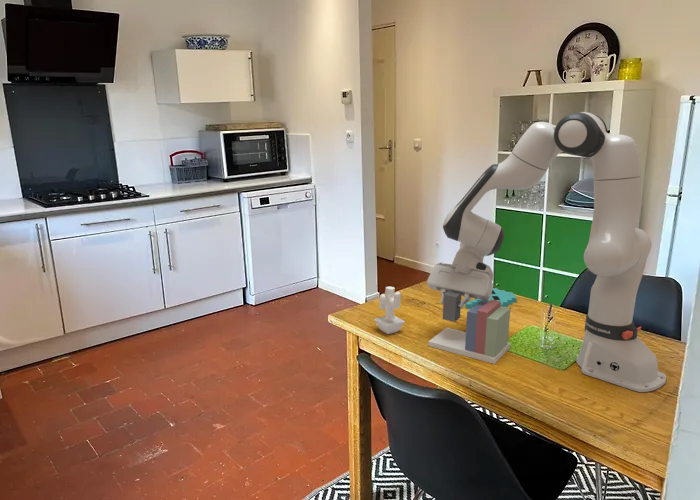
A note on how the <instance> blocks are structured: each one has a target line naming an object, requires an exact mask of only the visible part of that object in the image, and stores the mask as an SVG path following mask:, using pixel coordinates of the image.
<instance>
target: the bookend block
mask: <svg viewBox="0 0 700 500" xmlns="http://www.w3.org/2000/svg"><path fill="white" fill-rule="evenodd" d="M461 294H462V293H457V292H453V291H448V292H447V293H445V294H444V301H443V304H442V320H445V321H448V322H449V321H450V322H454V323H455V322H457V321H458V320H460V318H461V310H462V309H461V308H458V307H457V304H458V301H462V295H461Z"/></svg>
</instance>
